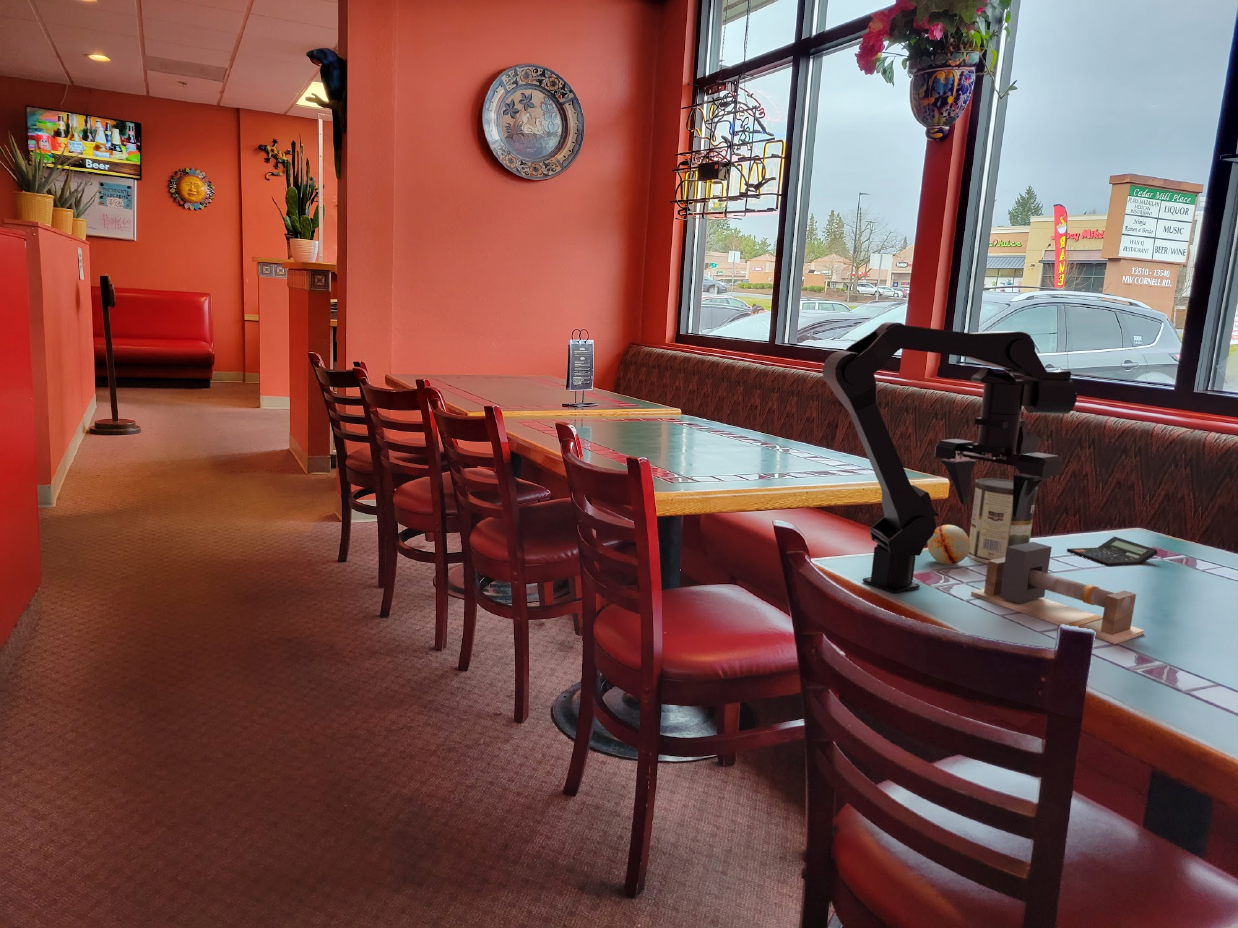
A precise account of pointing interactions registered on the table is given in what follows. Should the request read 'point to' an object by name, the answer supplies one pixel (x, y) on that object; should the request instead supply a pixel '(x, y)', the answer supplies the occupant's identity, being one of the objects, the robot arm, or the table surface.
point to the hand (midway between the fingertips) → (989, 510)
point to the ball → (949, 544)
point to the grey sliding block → (1024, 571)
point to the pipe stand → (1107, 627)
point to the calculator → (1117, 553)
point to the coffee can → (997, 520)
